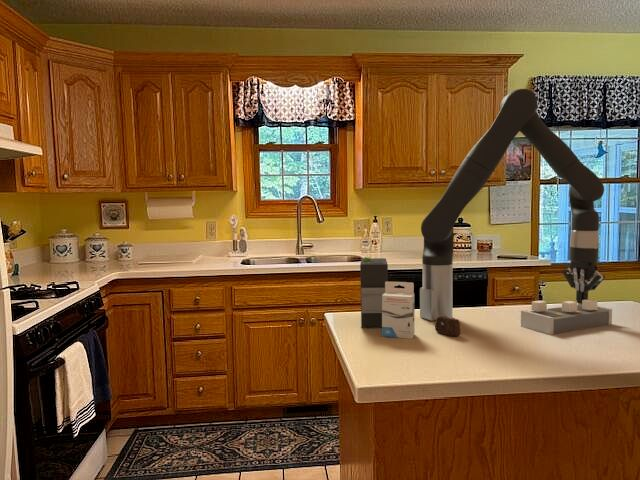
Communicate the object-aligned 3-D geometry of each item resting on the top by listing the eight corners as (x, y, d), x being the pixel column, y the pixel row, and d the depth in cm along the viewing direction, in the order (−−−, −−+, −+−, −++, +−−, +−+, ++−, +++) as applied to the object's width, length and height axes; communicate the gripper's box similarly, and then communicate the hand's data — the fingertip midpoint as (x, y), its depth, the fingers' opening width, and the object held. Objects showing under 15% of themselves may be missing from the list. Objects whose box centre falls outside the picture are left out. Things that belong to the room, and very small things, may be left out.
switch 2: (569, 312, 140) (569, 303, 140) (561, 310, 143) (562, 301, 142) (577, 310, 142) (577, 302, 141) (569, 309, 144) (569, 300, 144)
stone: (434, 332, 139) (434, 314, 139) (441, 330, 141) (441, 313, 140) (455, 338, 133) (455, 320, 132) (462, 336, 134) (462, 318, 134)
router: (386, 315, 161) (385, 254, 160) (388, 329, 143) (387, 261, 142) (361, 314, 162) (361, 254, 160) (361, 329, 144) (360, 261, 142)
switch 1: (538, 311, 142) (538, 303, 141) (531, 309, 144) (531, 301, 144) (546, 310, 143) (546, 302, 143) (539, 308, 145) (539, 300, 145)
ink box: (381, 337, 135) (380, 284, 134) (384, 332, 140) (384, 281, 139) (412, 339, 132) (412, 285, 131) (415, 334, 137) (414, 282, 136)
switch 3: (589, 310, 142) (589, 301, 142) (582, 308, 144) (582, 300, 144) (597, 309, 143) (597, 300, 143) (589, 307, 146) (589, 299, 145)
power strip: (550, 334, 134) (550, 318, 133) (520, 326, 143) (521, 310, 143) (611, 324, 143) (612, 308, 143) (580, 316, 153) (580, 302, 152)
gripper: (556, 244, 149) (554, 300, 151) (595, 248, 137) (593, 309, 139) (573, 243, 152) (571, 298, 154) (613, 247, 140) (611, 306, 142)
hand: (581, 303), depth 146 cm, fingers closed
